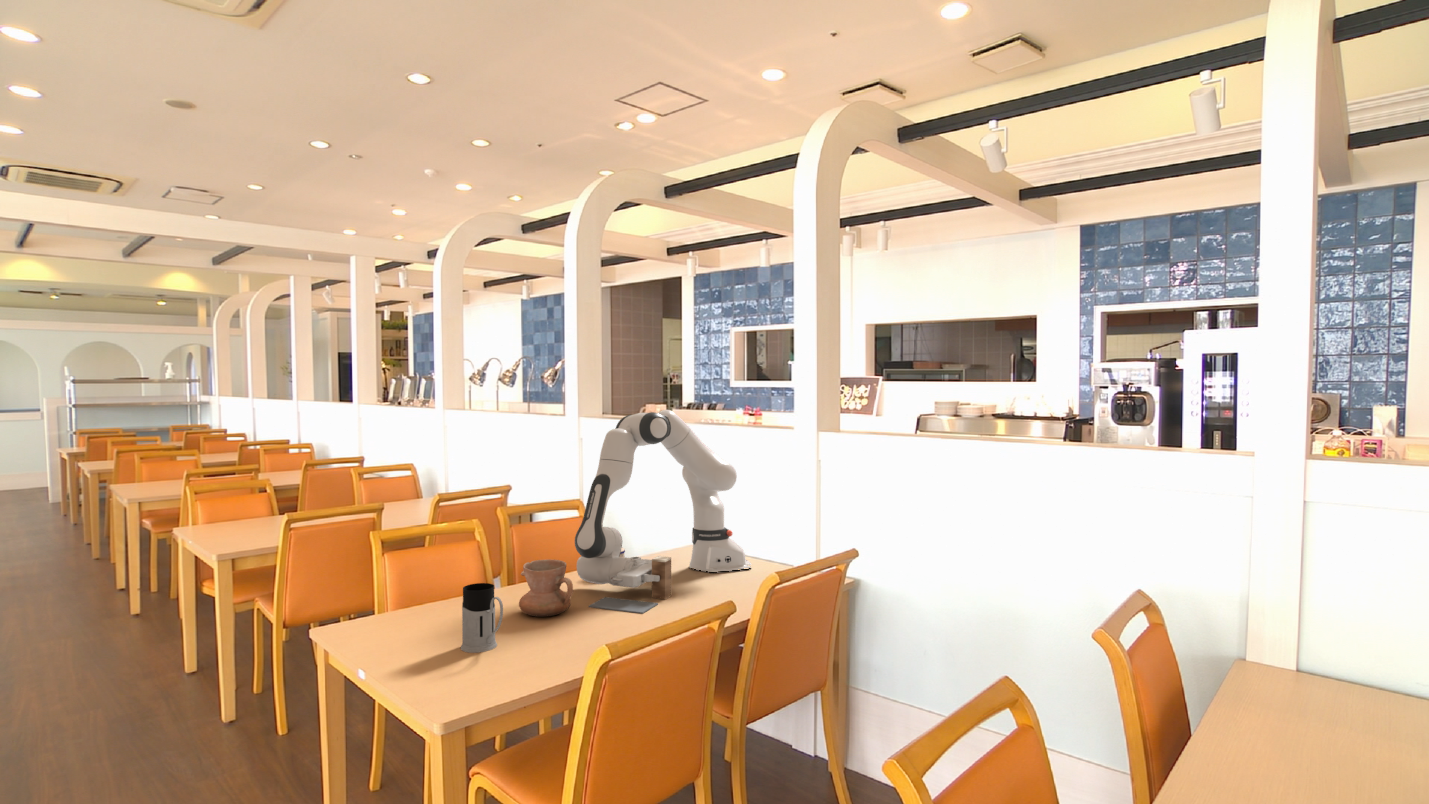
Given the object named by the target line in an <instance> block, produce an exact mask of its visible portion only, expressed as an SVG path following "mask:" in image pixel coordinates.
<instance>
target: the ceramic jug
mask: <svg viewBox="0 0 1429 804" xmlns="http://www.w3.org/2000/svg"><path fill="white" fill-rule="evenodd" d="M522 570H523V571H521V573H520V575H521V576H523V577H525V580H526V583H527V586H528V588H529V589H530V590H529V591H527V592H526V593H525V594H523V595H522V596H521V597H520V599H519V602H518V607H519V609H520V611H521V612H522V613H524V614H526V615H529V616H530V617H532V616H533V617H538V618H539V617H540V618H541V617H551V616H555V615H556V616H557V615H559V614H562V613H564V612H565V611H567V610H568V609H569V607H570V606H571V604H572V603H571V598H572V595H573V592H574V584H573V582H572V580H571V579H570V578H568V577H565V575H566V571H567V562H566V561H564V560H559V559H537V560H536V559H535V560H532V561H531V562H525V563H524V564H523V569H522ZM564 583H565V584H566V586H567V588H566V589H567V591H566V592H565V591H564V590H562V589H561V586H562V584H564Z"/></svg>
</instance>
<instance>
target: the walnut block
mask: <svg viewBox="0 0 1429 804" xmlns="http://www.w3.org/2000/svg"><path fill="white" fill-rule="evenodd" d="M651 560H652V575H656V574H657V575H661V580H660V581H658V582H657V581H652V582H651V598H652V599H660V600H667V599H669V598H670V597H671V596H672V556H664V555H663V556H661V555H657V556H655V557H653V558H652V559H651Z"/></svg>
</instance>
